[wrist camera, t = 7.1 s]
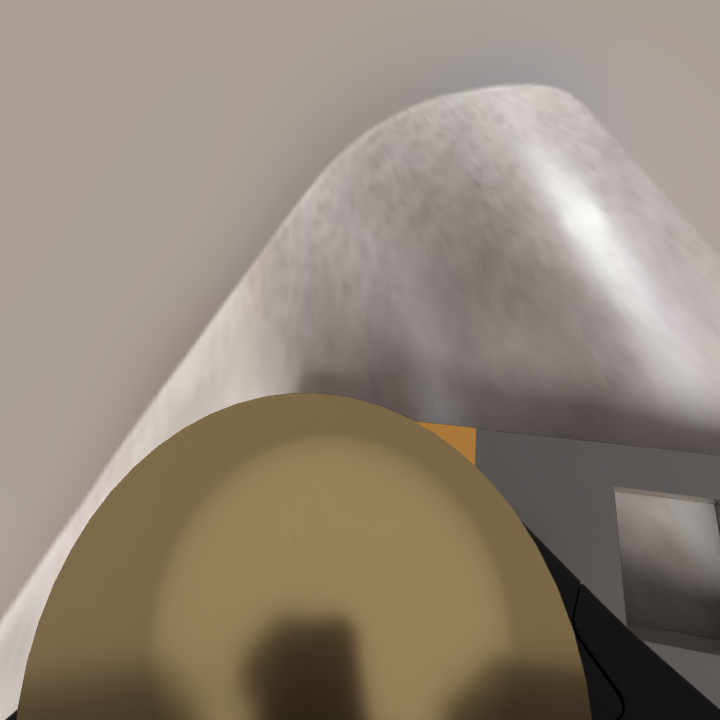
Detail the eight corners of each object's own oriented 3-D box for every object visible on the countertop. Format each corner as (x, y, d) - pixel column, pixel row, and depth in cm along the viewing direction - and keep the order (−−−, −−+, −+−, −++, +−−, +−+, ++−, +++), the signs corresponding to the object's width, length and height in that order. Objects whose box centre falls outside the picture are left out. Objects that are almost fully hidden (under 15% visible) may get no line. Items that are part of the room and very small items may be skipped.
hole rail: (792, 473, 17) (860, 469, 14) (854, 720, 14) (953, 770, 11) (297, 417, 21) (282, 407, 18) (263, 597, 18) (238, 613, 15)
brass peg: (394, 609, 14) (242, 1518, 2) (322, 527, 15) (-66, 659, 3) (462, 525, 14) (732, 687, 2) (387, 454, 16) (296, 310, 4)
